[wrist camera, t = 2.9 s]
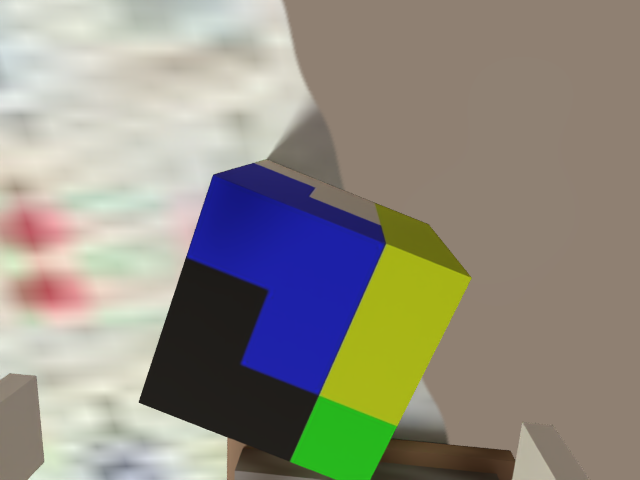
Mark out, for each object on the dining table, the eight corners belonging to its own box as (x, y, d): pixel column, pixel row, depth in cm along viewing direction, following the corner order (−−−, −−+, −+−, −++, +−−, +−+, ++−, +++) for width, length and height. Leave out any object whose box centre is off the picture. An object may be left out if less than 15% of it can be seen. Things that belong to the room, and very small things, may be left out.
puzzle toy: (266, 159, 26) (213, 174, 16) (428, 224, 26) (471, 278, 16) (212, 310, 28) (138, 402, 19) (361, 369, 28) (364, 490, 19)
